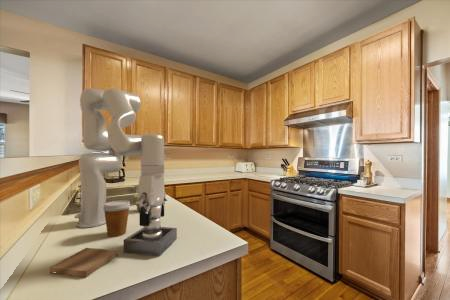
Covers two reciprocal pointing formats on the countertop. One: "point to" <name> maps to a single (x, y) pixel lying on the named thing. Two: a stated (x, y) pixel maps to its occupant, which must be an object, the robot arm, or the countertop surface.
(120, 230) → the disposable coffee cup
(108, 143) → the robot arm
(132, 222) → the countertop surface
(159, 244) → the tray
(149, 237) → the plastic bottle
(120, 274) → the countertop surface
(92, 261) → the walnut coaster
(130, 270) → the countertop surface
